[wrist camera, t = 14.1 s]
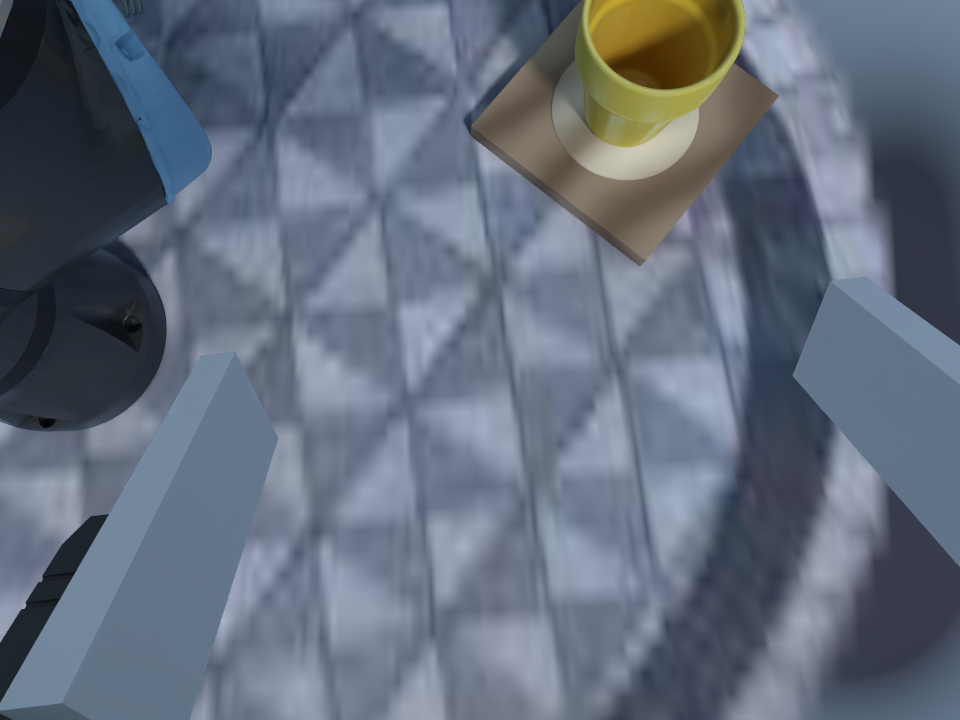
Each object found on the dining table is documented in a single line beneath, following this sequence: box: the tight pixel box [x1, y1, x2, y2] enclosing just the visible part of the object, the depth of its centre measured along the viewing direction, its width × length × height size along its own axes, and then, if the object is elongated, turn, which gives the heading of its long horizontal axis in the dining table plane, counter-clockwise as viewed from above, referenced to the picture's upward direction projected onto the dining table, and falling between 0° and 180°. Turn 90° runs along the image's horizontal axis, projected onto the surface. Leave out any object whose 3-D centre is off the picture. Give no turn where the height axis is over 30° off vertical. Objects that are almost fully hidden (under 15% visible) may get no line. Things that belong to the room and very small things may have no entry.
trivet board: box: [471, 0, 779, 266], centre depth 42 cm, size 18×18×2 cm
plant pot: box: [575, 0, 745, 147], centre depth 36 cm, size 10×10×10 cm
